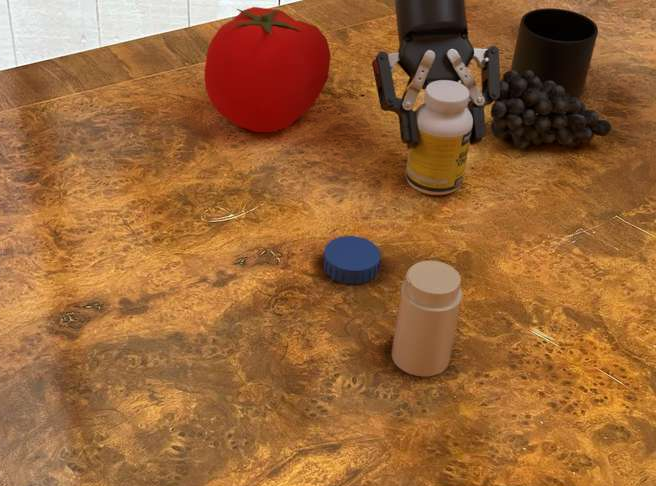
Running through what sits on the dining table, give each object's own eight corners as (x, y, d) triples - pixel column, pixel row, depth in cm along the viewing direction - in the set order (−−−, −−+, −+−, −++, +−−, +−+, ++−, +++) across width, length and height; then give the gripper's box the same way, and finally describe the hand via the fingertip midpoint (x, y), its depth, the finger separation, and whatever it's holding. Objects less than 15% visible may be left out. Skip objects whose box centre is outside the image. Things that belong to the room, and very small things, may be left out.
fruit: (625, 71, 123) (494, 52, 125) (622, 126, 119) (486, 105, 121) (605, 120, 130) (482, 102, 132) (602, 173, 126) (474, 154, 128)
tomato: (219, 155, 124) (219, 47, 115) (191, 96, 134) (189, -7, 125) (345, 137, 128) (355, 31, 119) (309, 82, 138) (316, -20, 129)
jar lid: (363, 292, 106) (365, 278, 105) (312, 272, 108) (313, 258, 107) (388, 261, 110) (390, 247, 109) (338, 242, 112) (340, 229, 111)
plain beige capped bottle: (440, 334, 101) (454, 255, 95) (457, 374, 97) (473, 294, 91) (384, 339, 101) (396, 259, 94) (399, 379, 97) (412, 299, 90)
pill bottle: (449, 204, 118) (465, 112, 110) (395, 187, 120) (407, 95, 112) (470, 175, 122) (487, 85, 114) (418, 159, 124) (431, 70, 117)
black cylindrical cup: (579, 67, 142) (595, 3, 136) (583, 112, 133) (600, 46, 128) (508, 59, 144) (521, -5, 138) (507, 103, 135) (520, 37, 129)
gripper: (373, -14, 112) (389, 141, 111) (503, -20, 114) (520, 133, 113) (357, 10, 120) (372, 157, 119) (480, 5, 122) (496, 148, 121)
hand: (444, 144), depth 116 cm, fingers closed on pill bottle, 6 cm apart
